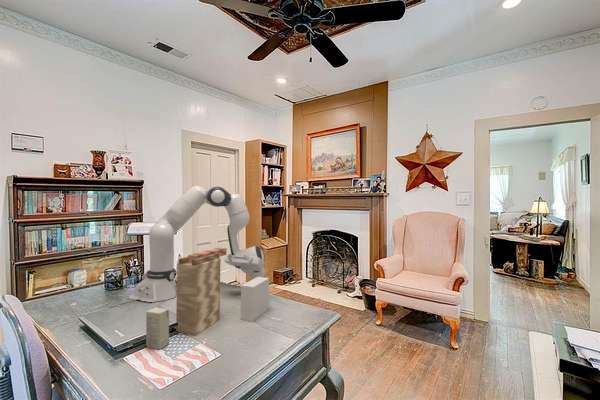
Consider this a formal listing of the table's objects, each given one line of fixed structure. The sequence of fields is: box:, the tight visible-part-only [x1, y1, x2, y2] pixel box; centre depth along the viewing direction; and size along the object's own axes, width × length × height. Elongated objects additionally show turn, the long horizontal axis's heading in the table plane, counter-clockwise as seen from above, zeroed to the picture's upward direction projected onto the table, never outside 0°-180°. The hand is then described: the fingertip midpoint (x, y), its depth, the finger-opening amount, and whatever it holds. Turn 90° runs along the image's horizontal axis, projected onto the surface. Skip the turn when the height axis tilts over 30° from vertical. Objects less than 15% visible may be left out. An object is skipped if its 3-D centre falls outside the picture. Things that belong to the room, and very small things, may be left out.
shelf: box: [239, 276, 270, 323], centre depth 126 cm, size 15×6×14 cm, turn 161°
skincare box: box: [145, 306, 170, 350], centre depth 98 cm, size 6×4×12 cm
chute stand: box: [175, 253, 221, 337], centre depth 113 cm, size 15×9×28 cm, turn 161°
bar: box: [187, 246, 228, 263], centre depth 119 cm, size 20×4×3 cm, turn 161°
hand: (236, 256), depth 139 cm, fingers open, 8 cm apart
